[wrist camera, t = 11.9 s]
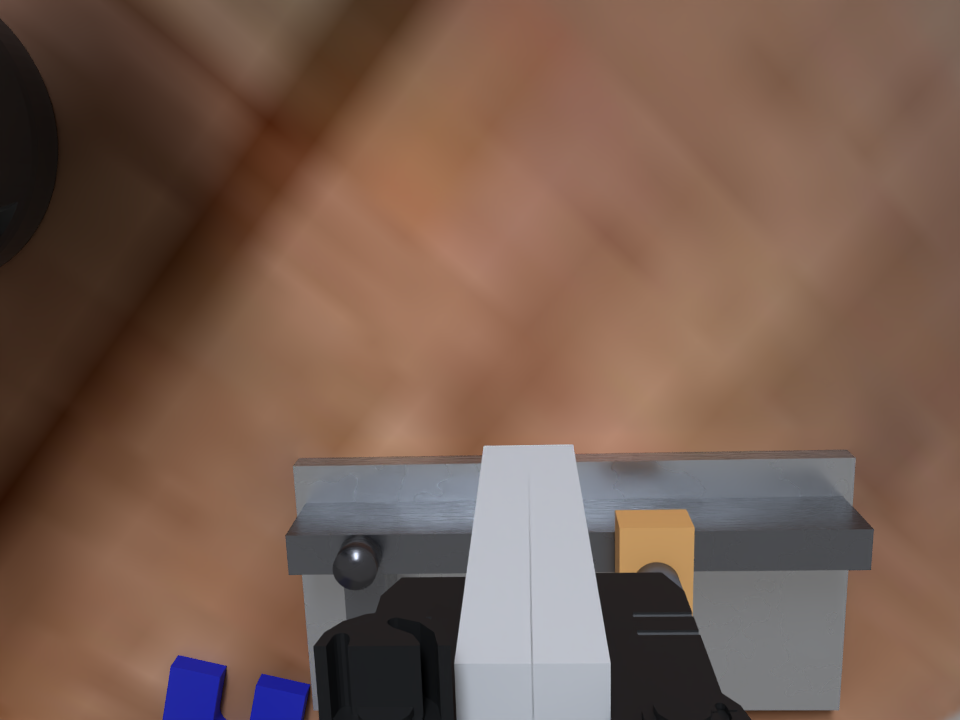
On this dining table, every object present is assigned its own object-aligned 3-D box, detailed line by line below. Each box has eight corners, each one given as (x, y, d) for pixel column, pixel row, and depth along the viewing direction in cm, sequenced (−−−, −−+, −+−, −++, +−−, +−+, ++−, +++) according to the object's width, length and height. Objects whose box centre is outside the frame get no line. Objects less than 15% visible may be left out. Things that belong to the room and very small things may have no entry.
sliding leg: (607, 672, 46) (622, 766, 39) (607, 479, 44) (623, 542, 37) (668, 672, 46) (695, 766, 39) (672, 478, 44) (700, 541, 37)
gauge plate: (318, 696, 49) (286, 781, 43) (298, 458, 46) (261, 509, 40) (831, 696, 48) (880, 783, 41) (846, 449, 45) (903, 501, 38)
